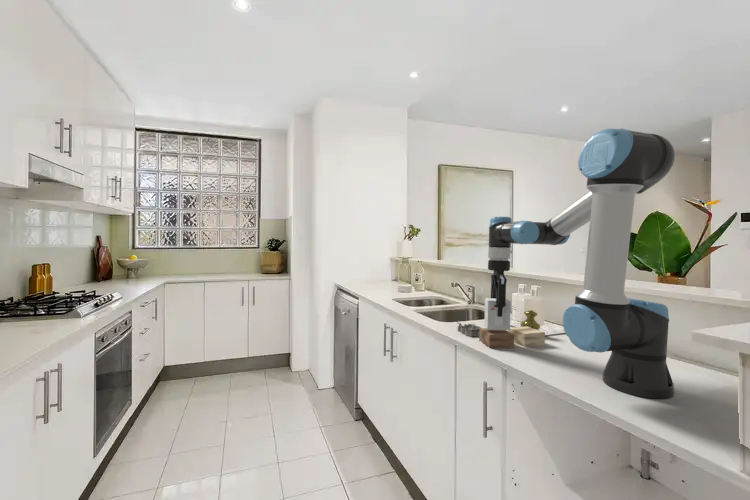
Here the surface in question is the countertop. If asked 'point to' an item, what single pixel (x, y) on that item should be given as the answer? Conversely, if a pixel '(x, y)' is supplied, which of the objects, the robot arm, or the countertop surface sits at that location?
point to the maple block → (527, 336)
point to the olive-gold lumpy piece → (530, 320)
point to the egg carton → (469, 329)
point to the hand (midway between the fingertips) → (496, 323)
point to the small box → (490, 315)
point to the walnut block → (496, 338)
